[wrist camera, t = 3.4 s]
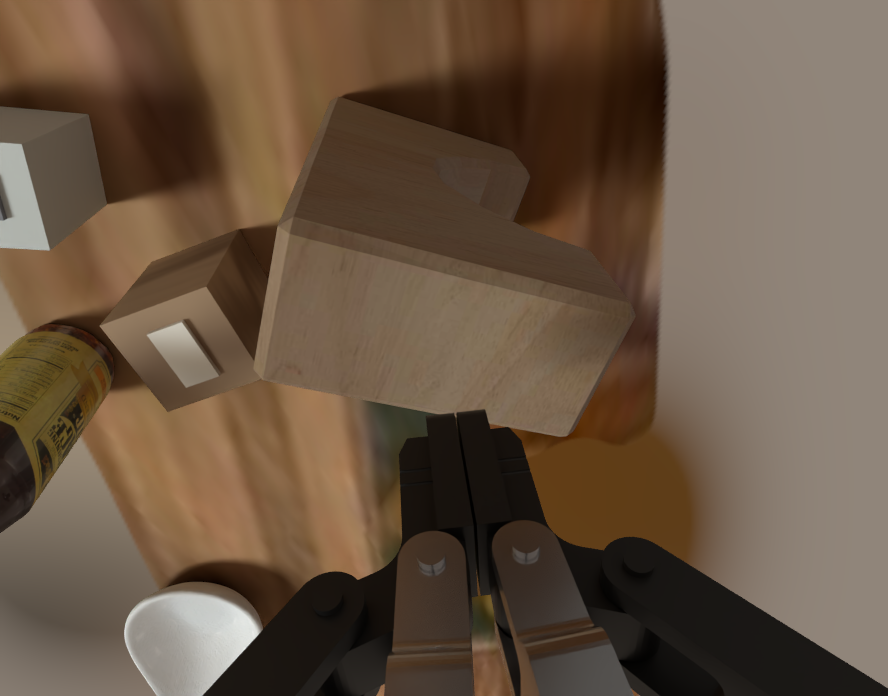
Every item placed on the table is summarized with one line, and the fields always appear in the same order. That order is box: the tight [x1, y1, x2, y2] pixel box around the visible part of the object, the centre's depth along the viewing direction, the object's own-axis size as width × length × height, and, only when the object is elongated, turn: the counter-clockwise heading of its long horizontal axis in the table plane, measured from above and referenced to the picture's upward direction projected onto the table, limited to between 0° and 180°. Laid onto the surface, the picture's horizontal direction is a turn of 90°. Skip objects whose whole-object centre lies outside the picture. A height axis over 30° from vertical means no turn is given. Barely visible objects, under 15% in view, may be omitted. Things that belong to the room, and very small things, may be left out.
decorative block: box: [253, 97, 636, 437], centre depth 26 cm, size 11×6×20 cm, turn 72°
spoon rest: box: [124, 582, 263, 696], centre depth 54 cm, size 24×12×7 cm, turn 178°
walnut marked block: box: [100, 229, 268, 412], centre depth 34 cm, size 6×6×8 cm
